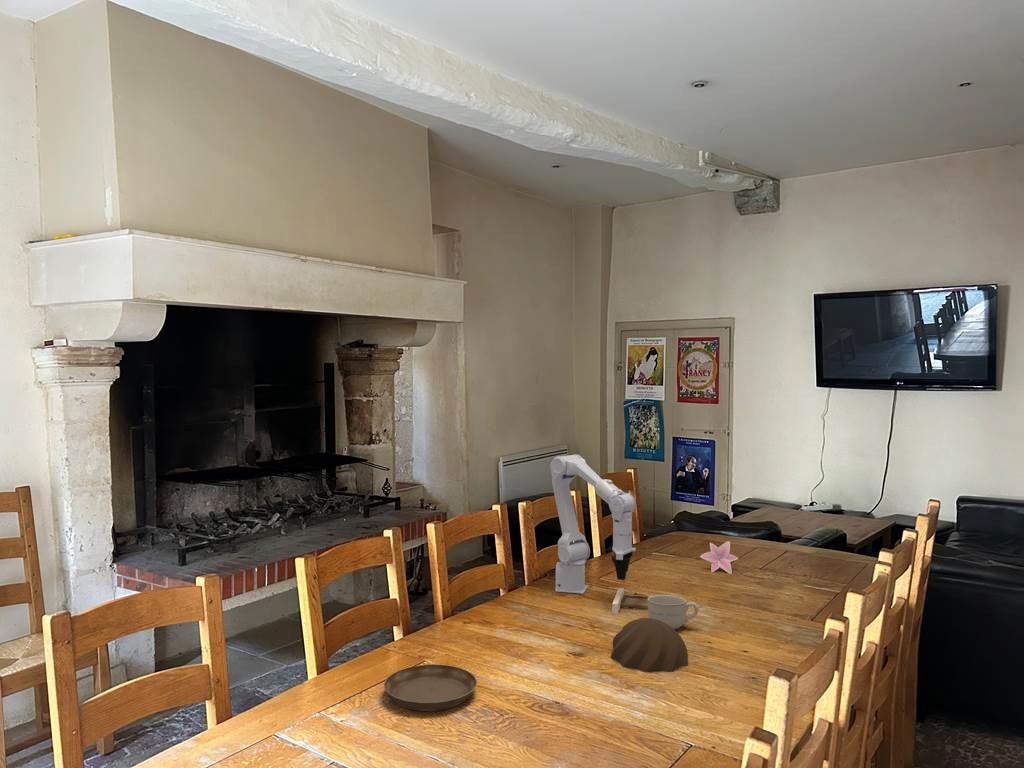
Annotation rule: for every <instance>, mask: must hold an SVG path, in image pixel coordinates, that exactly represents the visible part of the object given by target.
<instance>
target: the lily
mask: <svg viewBox="0 0 1024 768" xmlns="http://www.w3.org/2000/svg"><path fill="white" fill-rule="evenodd" d="M709 548H710V551H707V552H705V553H702V554H701V555H700V556H699V557H700V558H701V559H703V560H705V561H707V562H709V563H711V568H710V572H711V573H714V572H715V571H717V570H718V569H719V568H720V569H721V570H724V571H725V572H727V573H728V574H731V575H732V573H733V571H732V565H731V562H733V561H737V560H738V559H739V557H738V556H736V555H733V554H731V553H730V550H731V541H728V540H727V541H726V542H724V543H723V544H721V545H720V546H719V547H718V546H716V544H714V543H713V542H709Z"/></svg>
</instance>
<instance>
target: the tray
mask: <svg viewBox="0 0 1024 768" xmlns="http://www.w3.org/2000/svg"><path fill="white" fill-rule="evenodd" d="M649 597H650V596H645V595H635V594H624V596H623V598H622V601H621V607H628V608H627V609H633V608H639V609H638V610H644V609H648V598H649ZM621 607H620V608H621Z"/></svg>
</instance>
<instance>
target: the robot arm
mask: <svg viewBox="0 0 1024 768" xmlns="http://www.w3.org/2000/svg"><path fill="white" fill-rule="evenodd" d="M549 468H550V473H551V486H552V490H553V495H554V499H555V505H556V509H557V514H558V518H559V520H558V521H559V524H560V529H561V534H562V535H561V537H559V539H558V541H557V547H558V549H557V555H558V558H559V561H557V562H556V565H555V589H554V591H555V592H557V593H569V594H582V595H584V594H585V593H586V590H587V589H588V585H586V562H587V559H589V557H590V554H591V550H590V546H589V543H588V542H587V539H586V536H585V535H584V534H582V533H581V532H580V531H579V525H578V521H577V515H576V511H575V507H574V501H573V497H572V492H571V488H570V484H571V482H572V481H573V479H574V478H576V477H577V476H579V477H580V478H582V479H583V480H584V481H585V482H587V483H588V484H590V485H591V486H592V487H594V489H595V494H596V495H597V496H599V497H600V498H601V499H602V500H603V501H604V502H606V503H607V504H608V507H609V510H610V512H611V517H612V552H613V553H614V555H611V561H612V562H613V565H614V568H615V572H616V573H615V575H616V574H617V578H618V580H625V577H626V571H627V572H628V571H629V565H630V561H631V559H632V556H633V554H634V552H636V551H637V550H636V549H637V548H636V547H633V543H632V542H633V537H632V536H633V534H632V533H633V511H634V510H635V509H636V507H637V506H636V505H637V502H636V498H635V497H634V496H633V495H632V493H630V492H624V491H623V490H622V489H620V488H619V487H618V486H616V485H615V484H614V483H613V480H611V479H608V478H607V479H606V478H605V479H603V478H602V477H600V476H599V475H598V474H597V473H596V472H595V470H593V469H592V468H591V467H590V466H589V464H587V462H586V459H585V458H583V457H582V456H581V455H580V454H578V453H577V454H571V455H562V456H561V455H558V456H557V455H556V456H555V457H554V458H552V461H551V462H550V464H549ZM628 573H629V572H628ZM618 580H617V581H618Z"/></svg>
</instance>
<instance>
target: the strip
mask: <svg viewBox="0 0 1024 768" xmlns="http://www.w3.org/2000/svg"><path fill="white" fill-rule="evenodd" d="M624 595H625V589H624V587H623V588H622V587H618V589H617V591H616V594H615V596H614V599H613V601H612V604H611V607H612V611H611V613H615V614H614V615H619V612H620V609H621V607H620V606H621V601H622V598H623V596H624ZM618 611H619V612H618Z"/></svg>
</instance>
